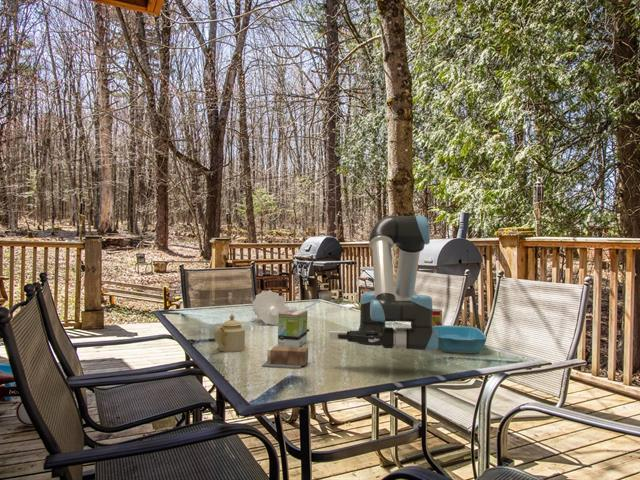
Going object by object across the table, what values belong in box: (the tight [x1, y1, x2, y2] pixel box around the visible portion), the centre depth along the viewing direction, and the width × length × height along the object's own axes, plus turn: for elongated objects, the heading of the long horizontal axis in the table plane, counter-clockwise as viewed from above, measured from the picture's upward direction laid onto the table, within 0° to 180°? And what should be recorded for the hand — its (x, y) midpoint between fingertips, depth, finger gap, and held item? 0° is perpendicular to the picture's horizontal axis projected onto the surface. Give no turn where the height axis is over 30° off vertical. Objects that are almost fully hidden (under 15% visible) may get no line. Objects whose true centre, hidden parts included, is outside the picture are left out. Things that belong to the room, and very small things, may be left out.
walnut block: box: [266, 345, 309, 367], centre depth 177 cm, size 5×7×14 cm
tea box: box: [277, 309, 308, 347], centre depth 212 cm, size 15×10×15 cm, turn 168°
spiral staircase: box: [252, 289, 290, 326], centre depth 268 cm, size 18×18×25 cm
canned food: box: [432, 308, 443, 326], centre depth 242 cm, size 8×8×12 cm
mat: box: [261, 361, 303, 370], centre depth 177 cm, size 14×12×1 cm
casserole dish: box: [432, 324, 488, 354], centre depth 211 cm, size 37×22×7 cm, turn 171°
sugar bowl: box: [213, 313, 246, 353], centre depth 198 cm, size 15×11×15 cm
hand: (329, 335), depth 174 cm, fingers closed
